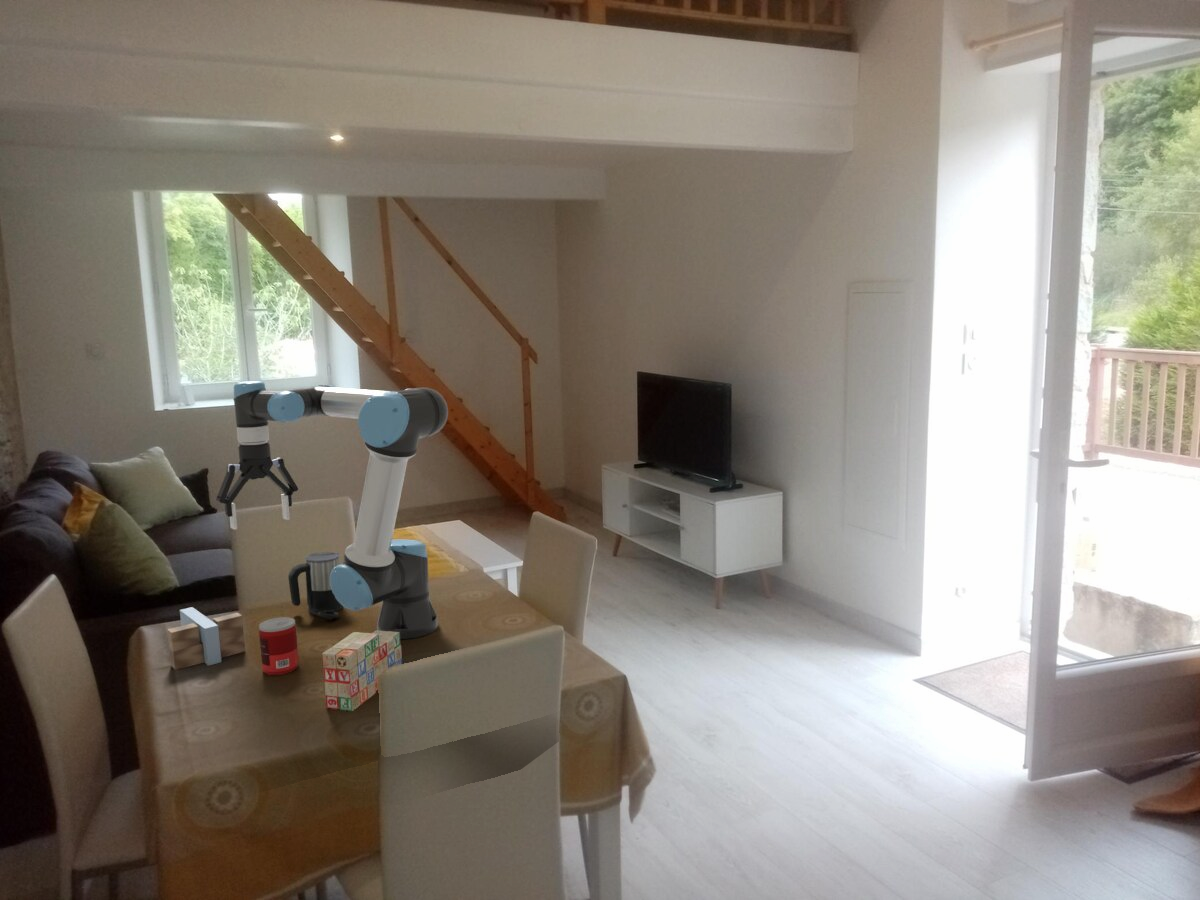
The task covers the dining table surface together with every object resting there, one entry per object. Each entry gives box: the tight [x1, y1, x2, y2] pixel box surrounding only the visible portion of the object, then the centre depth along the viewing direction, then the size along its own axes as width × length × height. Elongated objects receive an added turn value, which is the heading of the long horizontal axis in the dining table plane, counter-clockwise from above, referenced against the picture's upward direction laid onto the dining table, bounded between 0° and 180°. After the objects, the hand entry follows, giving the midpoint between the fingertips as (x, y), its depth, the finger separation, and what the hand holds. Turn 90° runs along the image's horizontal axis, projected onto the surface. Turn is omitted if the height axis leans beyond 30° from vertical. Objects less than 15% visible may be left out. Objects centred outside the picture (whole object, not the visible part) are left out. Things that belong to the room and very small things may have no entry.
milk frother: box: [287, 551, 344, 621], centre depth 242 cm, size 14×16×15 cm
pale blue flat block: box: [179, 606, 222, 666], centre depth 216 cm, size 18×3×9 cm, turn 42°
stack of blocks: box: [322, 630, 403, 712], centre depth 194 cm, size 21×6×12 cm, turn 164°
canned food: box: [258, 616, 299, 676], centre depth 206 cm, size 8×8×11 cm
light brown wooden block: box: [167, 612, 246, 671], centre depth 213 cm, size 16×3×9 cm, turn 132°
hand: (260, 523), depth 232 cm, fingers open, 13 cm apart
